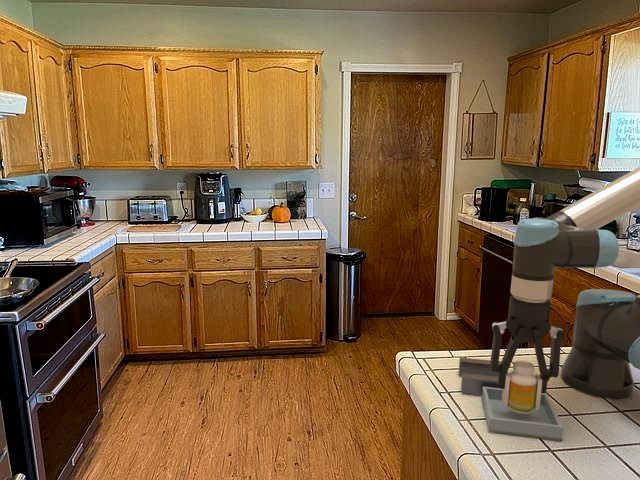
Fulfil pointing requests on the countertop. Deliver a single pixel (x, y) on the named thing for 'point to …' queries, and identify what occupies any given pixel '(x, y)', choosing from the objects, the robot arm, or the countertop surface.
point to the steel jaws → (476, 376)
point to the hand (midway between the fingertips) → (520, 404)
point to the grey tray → (521, 418)
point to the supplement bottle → (522, 388)
